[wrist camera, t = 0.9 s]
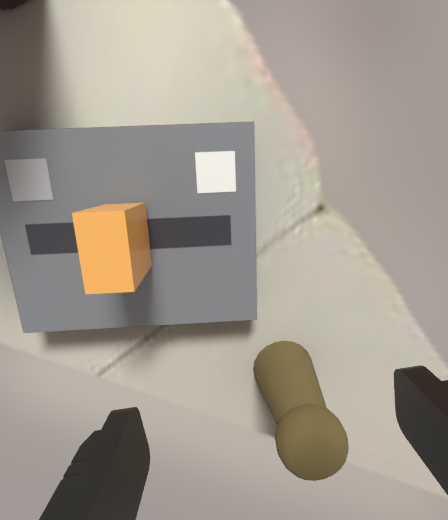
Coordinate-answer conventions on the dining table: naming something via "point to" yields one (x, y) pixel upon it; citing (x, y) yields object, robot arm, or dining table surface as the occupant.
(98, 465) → the robot arm
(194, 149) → the panel
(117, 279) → the knob
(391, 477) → the dining table surface
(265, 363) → the olive pawn
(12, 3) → the bottle
